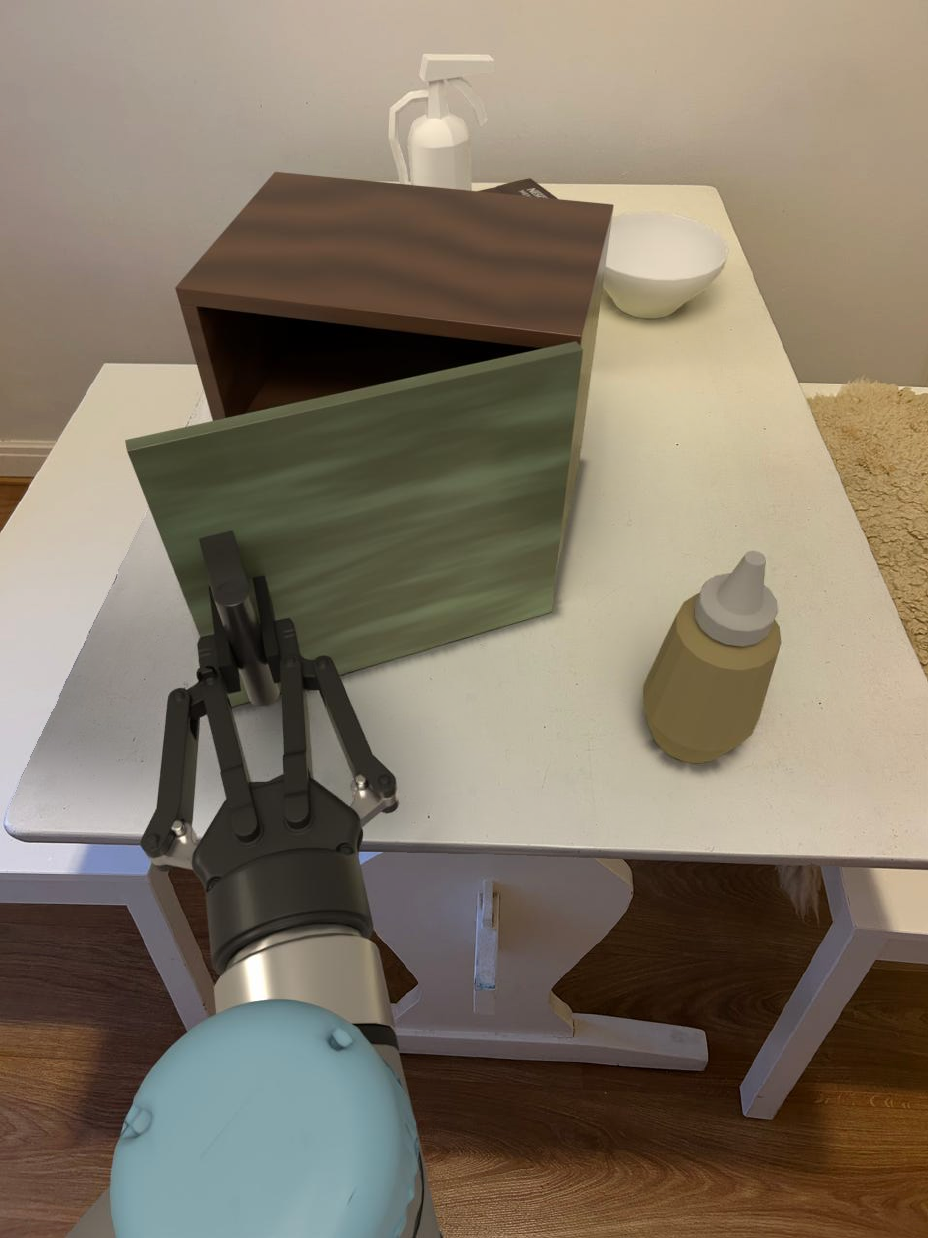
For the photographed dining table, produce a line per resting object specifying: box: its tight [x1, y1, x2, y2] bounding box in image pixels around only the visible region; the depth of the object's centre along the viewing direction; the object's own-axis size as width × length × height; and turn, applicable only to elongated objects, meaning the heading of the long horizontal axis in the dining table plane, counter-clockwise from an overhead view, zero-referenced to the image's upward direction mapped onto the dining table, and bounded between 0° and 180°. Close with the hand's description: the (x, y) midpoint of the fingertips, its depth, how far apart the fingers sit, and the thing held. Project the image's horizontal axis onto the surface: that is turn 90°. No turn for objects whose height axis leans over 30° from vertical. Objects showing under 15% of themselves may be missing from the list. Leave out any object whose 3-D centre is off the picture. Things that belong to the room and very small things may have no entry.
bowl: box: [603, 211, 730, 320], centre depth 96 cm, size 16×16×7 cm
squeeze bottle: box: [642, 550, 783, 764], centre depth 54 cm, size 8×8×18 cm
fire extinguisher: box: [387, 53, 496, 191], centre depth 90 cm, size 7×12×25 cm, turn 104°
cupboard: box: [174, 171, 614, 574], centre depth 67 cm, size 18×26×24 cm
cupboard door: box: [124, 341, 583, 708], centre depth 54 cm, size 7×26×24 cm, turn 111°
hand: (241, 595), depth 53 cm, fingers closed on cupboard door, 2 cm apart
